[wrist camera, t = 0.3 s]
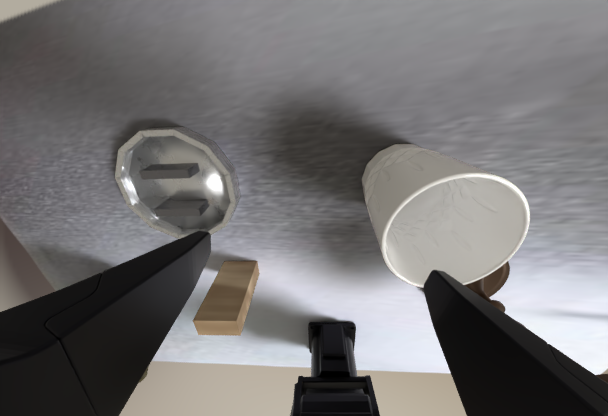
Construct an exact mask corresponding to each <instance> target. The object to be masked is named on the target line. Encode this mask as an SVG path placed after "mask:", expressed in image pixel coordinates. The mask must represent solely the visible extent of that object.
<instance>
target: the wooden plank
mask: <svg viewBox="0 0 608 416" xmlns="http://www.w3.org/2000/svg"><path fill="white" fill-rule="evenodd" d="M258 276H259V269H258V263H257V261H224V263H223V265H222V267H221V269H220V271H219V272H218V274H217V276H216V278H215V280H214V282H213V284H212V286H211V288H210V289H209V291H208V293H207V295H206V297H205V299H204V301H203V303H202V304H201V306H200V308H199V310H198V312H197V314H196V316H195V318H194V319H193V322H194V325H195V327H196V330H197V332H198V335H241V332H242V329H243V325H244V322H245V319H246V316H247V312H248V309H249V306H250V303H251V299H252V296H253V293H254V290H255V286H256V283H257V280H258Z"/></svg>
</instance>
